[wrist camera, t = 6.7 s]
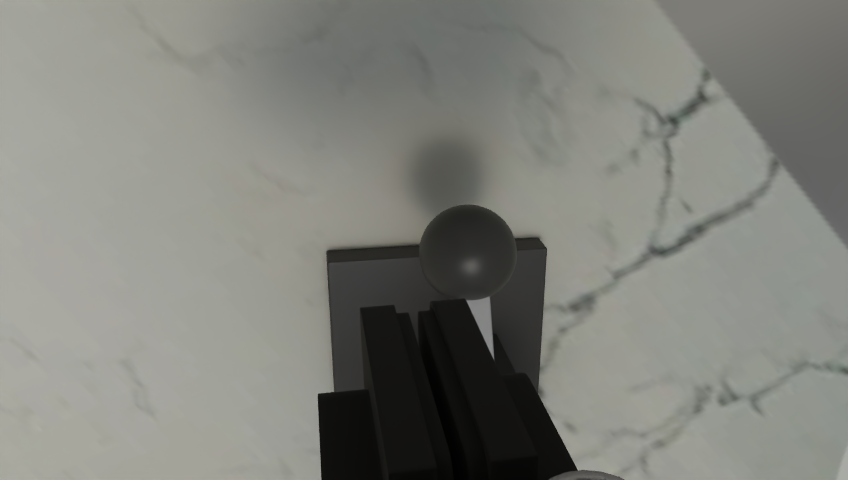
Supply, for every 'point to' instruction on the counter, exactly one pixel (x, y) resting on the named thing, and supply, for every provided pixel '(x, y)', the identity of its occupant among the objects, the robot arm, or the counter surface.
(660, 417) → the counter surface
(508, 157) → the counter surface
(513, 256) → the ball-topped lever switch
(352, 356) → the ball-topped lever switch base
